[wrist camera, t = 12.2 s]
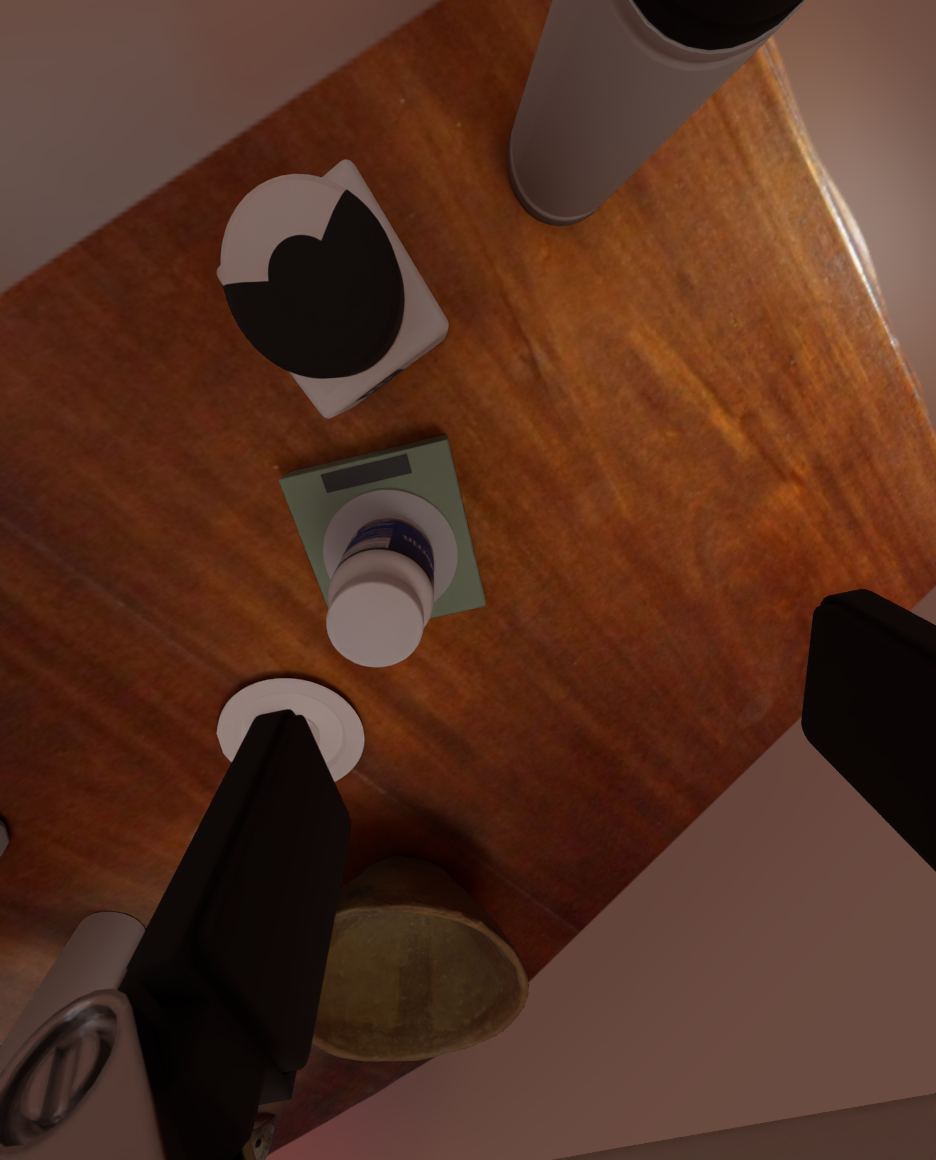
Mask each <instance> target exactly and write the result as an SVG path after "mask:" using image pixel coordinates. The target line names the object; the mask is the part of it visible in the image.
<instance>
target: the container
mask: <svg viewBox="0 0 936 1160" xmlns="http://www.w3.org/2000/svg"><path fill="white" fill-rule="evenodd" d="M217 276H218V278H219V280H220V282H221V283H222V284H223V288H224V292H225V296H226V300H227V302H228V305H229V307H230V310H231V312H232V315H233V316H234V318H235V320H236V322H237V324H238V326H239V327H240V329H241V330H242V332H243V333H244V335H245V336H246V338H247V339H248V340H249V341H250V342H251V343H252V345H253V346H254V347H255V348H256V349H257V350H258V351H259V352H260V353H261V354H262V355H264V356H265V357H266V358H267V359H269V360H270V361H271V362H273V363H274V364H276V365H277V366H279V367H281V368H283V369H285V370H287V371H289V373H290V374H291V375H292V377H293V378H294V379H295V381H296V382H297V383H298V384H299V386H300V387H301V388H302V390H303V391H304V392H305V394H306V395H307V396H308V398H309V399H310V400H311V402H312V403H313V404H314V406H315V407H316V408H317V410H318V411H319V412H320V413H321V415H322V416H324V417H325V418H332V417H334V416H336V415H338V414H341V413H343V412H345V411H347V410H349V409H351V408H353V407H355V406H356V405H358V404H359V403H360V402H362V401H363V400H364V399H366V398H367V397H368V396H370V395H371V394H372V393H374V392H375V391H376V390H378V389H379V388H380V387H382V386H383V385H384V384H386V383H387V382H388V381H390V380H391V379H392V378H394V377H395V376H396V375H398V374H399V373H400V372H402V371H403V370H404V369H406V368H407V367H408V366H410V365H411V364H413V363H414V362H415V361H417V360H418V359H419V358H421V357H422V356H423V355H425V354H426V353H427V352H429V351H430V350H431V349H433V348H434V347H435V346H437V345H438V344H439V343H441V342H442V341H443V340H444V339H445V337H446V334H447V331H448V327H449V323H448V320H447V318H446V317H445V315H444V313H443V312H442V310H441V308H440V307H439V305H438V303H437V302H436V300H435V298H434V297H433V295H432V293H431V292H430V290H429V288H428V287H427V285H426V283H425V282H424V280H423V278H422V277H421V275H420V273H419V272H418V270H417V268H416V267H415V265H414V263H413V261H412V260H411V258H410V256H409V255H408V253H407V251H406V250H405V248H404V246H403V245H402V243H401V241H400V240H399V238H398V236H397V235H396V233H395V231H394V230H393V228H392V226H391V225H390V223H389V221H388V220H387V218H386V216H385V215H384V213H383V211H382V210H381V208H380V206H379V205H378V203H377V201H376V200H375V198H374V196H373V195H372V193H371V191H370V190H369V188H368V186H367V185H366V183H365V181H364V180H363V178H362V176H361V175H360V173H359V171H358V170H357V168H356V166H355V165H354V164H353V163H352V162H351V161H350V160H346V159H345V160H342V161H341V162H339V163H338V164H337V165H336V166H335V167H334V168H332V169H331V170H330V171H329V172H328V173H327V174H326V175H324V176H323V177H318V176H313V175H308V174H290V175H283V176H279V177H276V178H273V179H270V180H268V181H266V182H264V183H262V184H260V185H258V186H257V187H256V188H254V189H253V190H252V191H251V192H249V193H248V194H247V195H246V196H245V197H244V198H243V200H242V201H241V202H240V203H239V204H238V206H237V207H236V209H235V211H234V212H233V214H232V216H231V218H230V220H229V222H228V225H227V227H226V230H225V234H224V238H223V242H222V249H221V265H220V266H219V268H218V269H217Z"/></svg>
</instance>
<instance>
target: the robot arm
mask: <svg viewBox="0 0 936 1160" xmlns="http://www.w3.org/2000/svg"><path fill="white" fill-rule="evenodd" d="M801 724H802V729H803V732H804V734H805V736H806V738H807V739H808V741H809V742H810V743H811V744H812V745H813V746H814V747H815V748H816V749H817V750H818V751H819V752H820V754H822V756H824V758H825V759H826V760H827V761H828V762H829V763H830V764H831V765H832V766H833V767H834V768H835V769H836V770H837V771H838V772H839V773H840V774H841V775H842V776H843V777H844V778H845V779H846V780H847V781H848V782H849V783H850V784H851V785H852V786H853V787H854V788H855V789H856V790H857V791H858V792H859V793H860V794H861V796H862V797H863V798H865V800H866V801H867V802H868V803H869V804H870V805H871V806H872V807H873V808H874V809H875V810H876V811H877V812H878V813H879V814H880V815H881V816H882V817H883V818H884V819H885V820H886V821H887V822H888V823H889V824H890V825H891V826H892V827H893V828H894V829H895V830H896V831H897V832H898V833H899V834H900V836H901V837H902V838H903V839H904V840H905V841H906V842H907V843H908V844H909V845H910V846H911V847H912V848H913V849H914V850H915V851H916V852H917V853H918V854H919V855H920V856H921V857H922V858H923V859H924V860H925V861H926V862H927V863H928V864H929V865H930V866H931V867H932V868H933V869H934V870H935V871H936V625H934V624H932V623H930V622H928V621H927V620H925V619H923V618H921V617H919V616H917V615H915V614H913V613H912V612H910V611H908V610H906V609H904V608H902V607H900V606H898V605H897V604H895V603H893V602H891V601H889V600H887V599H885V598H883V597H881V596H880V595H878V594H876V593H874V592H872V591H869V590H866V589H858V590H853V591H849V592H844V593H839V594H834V595H829V596H827V597H825V598H824V599H823V601H822V602H821V605H820V606H819V607H817V608H816V609H815V610H814V614H813V621H812V630H811V639H810V648H809V657H808V666H807V675H806V684H805V693H804V702H803V711H802V720H801ZM350 832H351V823H350V817H349V813H348V811H347V809H346V806H345V804H344V802H343V800H342V798H341V795H340V793H339V791H338V789H337V787H336V784H335V782H334V780H333V778H332V776H331V773H330V771H329V769H328V767H327V765H326V762H325V760H324V758H323V756H322V754H321V751H320V749H319V747H318V745H317V743H316V740H315V738H314V736H313V734H312V732H311V729H310V727H309V725H308V723H307V721H306V719H305V717H304V716H303V715H295V713H294V712H293V711H292V710H291V709H285V710H280V711H275V712H270V713H266V714H261V715H258V716H256V717H255V719H254V720H253V722H252V724H251V726H250V728H249V730H248V732H247V734H246V736H245V738H244V739H243V741H242V743H241V745H240V747H239V749H238V751H237V753H236V755H235V757H234V759H233V761H232V763H231V765H230V767H229V769H228V771H227V773H226V775H225V777H224V778H223V780H222V782H221V784H220V786H219V788H218V790H217V792H216V794H215V796H214V798H213V800H212V802H211V804H210V806H209V808H208V810H207V812H206V814H205V815H204V817H203V819H202V821H201V823H200V825H199V827H198V829H197V831H196V833H195V835H194V837H193V839H192V841H191V843H190V845H189V847H188V849H187V851H186V853H185V854H184V856H183V858H182V860H181V862H180V864H179V866H178V868H177V870H176V872H175V874H174V876H173V878H172V880H171V882H170V884H169V886H168V888H167V890H166V892H165V893H164V895H163V897H162V899H161V901H160V903H159V905H158V907H157V909H156V911H155V913H154V915H153V917H152V919H151V921H150V923H149V925H148V927H147V929H146V930H145V932H144V934H143V936H142V938H141V940H140V942H139V944H138V946H137V948H136V950H135V952H134V954H133V956H132V958H131V960H130V962H129V964H128V966H127V968H126V969H127V972H126V974H125V976H124V978H123V980H122V982H121V984H120V986H119V988H118V990H115V989H103V990H96V991H93V992H91V993H89V994H86V995H84V996H81V997H79V998H77V999H75V1000H74V1001H72V1002H71V1003H69V1004H68V1005H66V1006H65V1007H63V1008H62V1009H60V1010H59V1011H57V1012H56V1013H54V1014H53V1015H52V1016H51V1017H50V1018H49V1019H48V1020H47V1021H45V1022H44V1023H43V1024H42V1025H41V1026H40V1027H39V1028H38V1029H37V1030H36V1031H34V1032H33V1033H32V1034H31V1035H30V1037H29V1038H28V1039H27V1040H26V1041H25V1042H24V1043H23V1045H22V1046H21V1047H20V1048H19V1049H18V1050H17V1052H16V1053H15V1054H14V1055H13V1056H12V1057H11V1059H10V1060H9V1061H8V1063H7V1064H6V1066H5V1067H4V1069H3V1070H2V1072H1V1073H0V1160H256V1157H255V1154H254V1151H253V1148H252V1145H251V1142H250V1138H251V1135H252V1130H253V1126H254V1122H255V1118H256V1114H257V1110H258V1105H261V1104H267V1103H272V1102H278V1101H284V1100H289V1099H291V1097H292V1092H293V1087H294V1082H295V1077H296V1072H297V1070H300V1069H302V1068H303V1067H304V1066H305V1065H306V1063H307V1060H308V1058H309V1054H310V1050H311V1045H312V1040H313V1034H314V1029H315V1023H316V1018H317V1013H318V1007H319V1002H320V996H321V991H322V985H323V980H324V975H325V969H326V964H327V958H328V953H329V947H330V942H331V937H332V931H333V926H334V920H335V915H336V910H337V904H338V899H339V893H340V888H341V882H342V877H343V872H344V866H345V861H346V855H347V850H348V844H349V839H350ZM555 1160H936V1093H935V1094H929V1095H924V1096H919V1097H912V1098H906V1099H900V1100H894V1101H889V1102H883V1103H877V1104H871V1105H865V1106H859V1107H854V1108H848V1109H842V1110H837V1111H830V1112H825V1113H819V1114H813V1115H807V1116H801V1117H795V1118H789V1119H784V1120H778V1121H772V1122H766V1123H760V1124H755V1125H750V1126H743V1127H737V1128H732V1129H726V1130H720V1131H714V1132H708V1133H702V1134H697V1135H691V1136H685V1137H679V1138H674V1139H668V1140H662V1141H656V1142H650V1143H645V1144H639V1145H633V1146H627V1147H621V1148H616V1149H610V1150H605V1151H599V1152H593V1153H588V1154H582V1155H577V1156H571V1157H565V1158H560V1159H555Z"/></svg>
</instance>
